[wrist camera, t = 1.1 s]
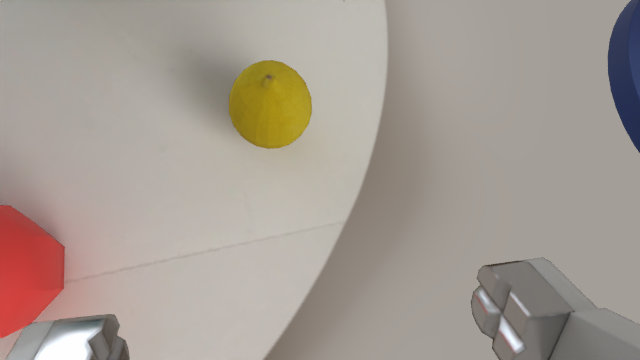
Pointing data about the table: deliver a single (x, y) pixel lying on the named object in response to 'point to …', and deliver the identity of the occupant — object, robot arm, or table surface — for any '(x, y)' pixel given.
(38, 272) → the apple
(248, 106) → the fruit
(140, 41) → the table surface
